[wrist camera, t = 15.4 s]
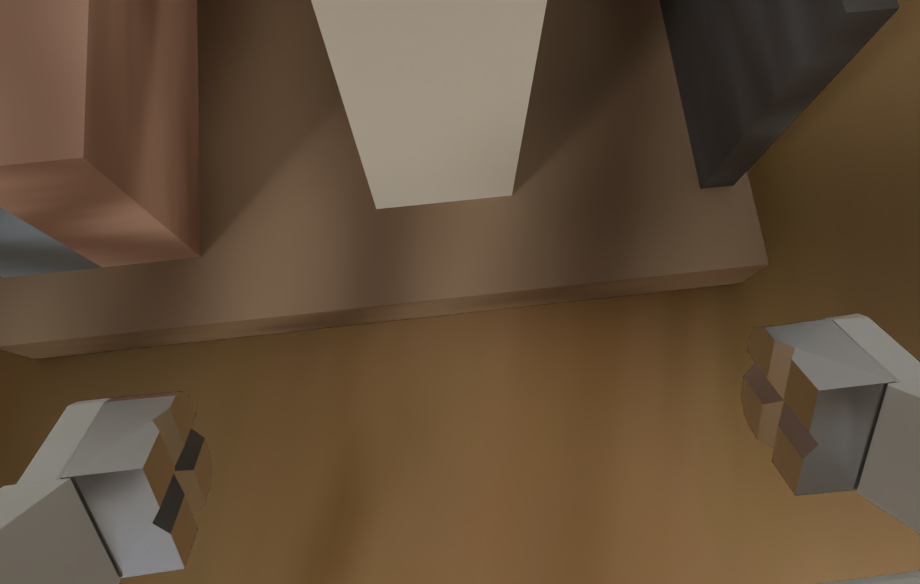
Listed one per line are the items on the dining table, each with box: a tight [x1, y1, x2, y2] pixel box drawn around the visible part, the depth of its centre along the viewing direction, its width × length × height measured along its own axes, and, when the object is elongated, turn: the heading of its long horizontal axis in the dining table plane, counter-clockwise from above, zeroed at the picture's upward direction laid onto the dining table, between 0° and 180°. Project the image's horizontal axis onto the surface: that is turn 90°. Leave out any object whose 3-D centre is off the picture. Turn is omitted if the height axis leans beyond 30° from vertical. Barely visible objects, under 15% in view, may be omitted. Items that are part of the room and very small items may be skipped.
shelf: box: [0, 0, 899, 359], centre depth 18 cm, size 22×14×10 cm, turn 96°
